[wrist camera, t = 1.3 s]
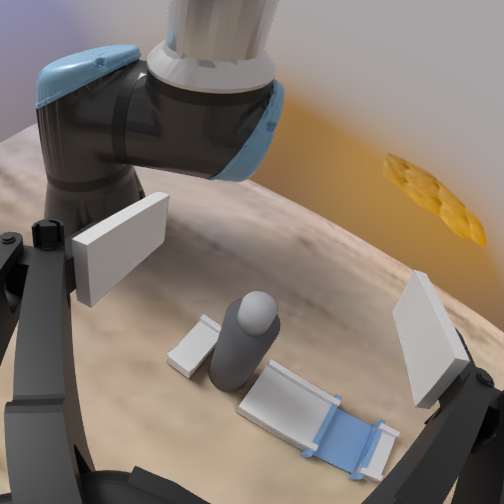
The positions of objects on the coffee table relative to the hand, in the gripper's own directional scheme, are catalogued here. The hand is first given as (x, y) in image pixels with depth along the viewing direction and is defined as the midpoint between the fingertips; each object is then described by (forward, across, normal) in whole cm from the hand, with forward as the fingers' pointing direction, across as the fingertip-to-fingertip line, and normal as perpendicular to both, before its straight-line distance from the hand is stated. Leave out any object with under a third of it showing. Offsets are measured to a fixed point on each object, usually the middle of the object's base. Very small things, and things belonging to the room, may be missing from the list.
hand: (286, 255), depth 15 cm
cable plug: (+7, -2, -18) cm, 19 cm away
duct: (+5, +5, -19) cm, 20 cm away
